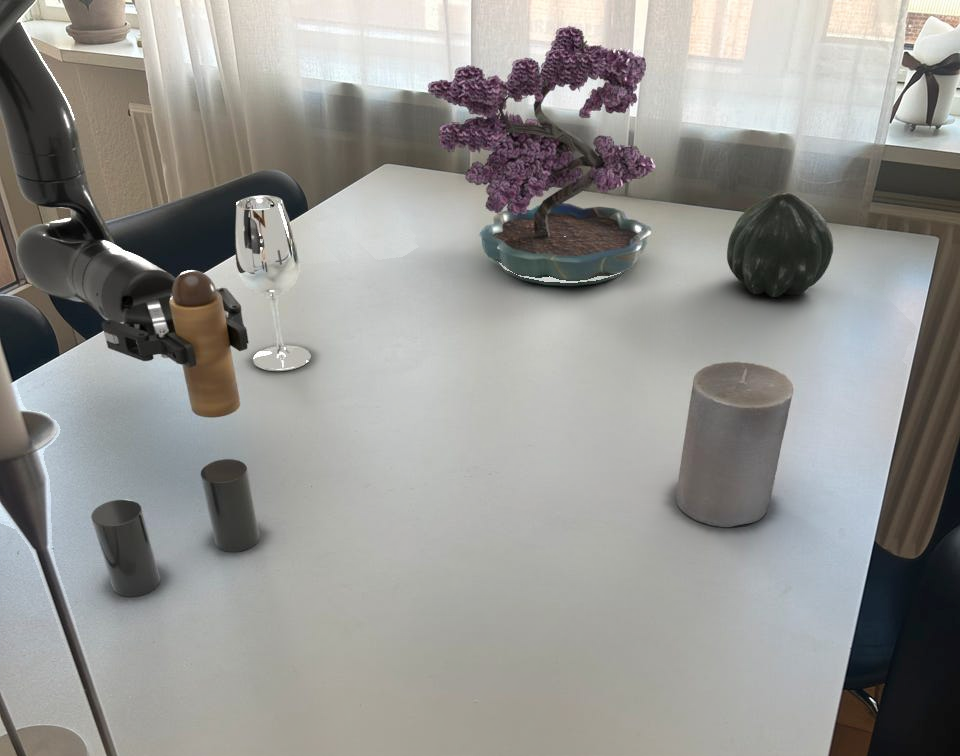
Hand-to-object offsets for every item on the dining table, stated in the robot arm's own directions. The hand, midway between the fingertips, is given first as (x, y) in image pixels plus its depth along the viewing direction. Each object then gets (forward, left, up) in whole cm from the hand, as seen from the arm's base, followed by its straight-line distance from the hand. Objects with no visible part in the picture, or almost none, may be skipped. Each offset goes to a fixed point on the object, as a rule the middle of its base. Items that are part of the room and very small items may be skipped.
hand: (217, 348), depth 94 cm
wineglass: (+22, +29, -18) cm, 40 cm away
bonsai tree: (+72, +31, -18) cm, 80 cm away
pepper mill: (0, +3, -7) cm, 7 cm away
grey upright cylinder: (-4, -4, -18) cm, 19 cm away
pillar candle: (+38, -32, -18) cm, 53 cm away
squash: (+91, +1, -18) cm, 93 cm away
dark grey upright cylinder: (-15, -4, -18) cm, 23 cm away
